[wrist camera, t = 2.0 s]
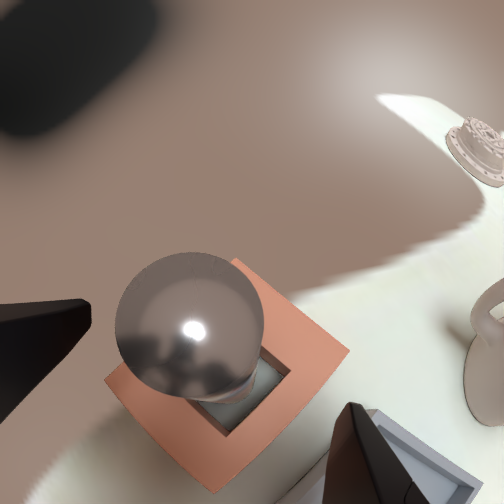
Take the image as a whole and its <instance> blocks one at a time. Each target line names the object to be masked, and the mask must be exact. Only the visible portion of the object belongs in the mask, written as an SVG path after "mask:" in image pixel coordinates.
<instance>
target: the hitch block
mask: <svg viewBox="0 0 504 504" xmlns="http://www.w3.org/2000/svg"><path fill="white" fill-rule="evenodd" d="M230 263H231V264H233V265H234V266H236V267H237V268H238V269H240V270H241V271H242V272H243V273H244V274H245V275H246V276H247V278H248V279H249V280H250V281H251V283H252V284H253V286H254V287H255V289H256V291H257V293H258V295H259V298H260V300H261V304H262V308H263V314H264V332H263V338H262V344H261V349H260V354H259V356H261V357H262V358H263V359H264V360H265V361H266V362H268V363H269V364H270V365H271V366H272V367H273V368H275V369H276V370H277V371H278V372H279V373H281V374H282V375H283V376H284V378H283V379H282V380H281V381H280V382H279V383H278V384H277V385H276V386H275V387H274V389H273V390H272V391H271V392H270V393H269V394H268V395H267V396H266V397H265V398H264V399H263V400H262V401H261V402H260V403H259V404H258V405H257V406H256V407H255V408H254V409H253V410H252V411H251V412H250V413H249V414H248V415H247V416H246V417H245V418H244V419H243V420H242V421H241V422H240V423H239V424H238V425H237V426H236V427H235V428H234V429H233V430H232V431H231V432H229V431H228V430H227V429H226V428H224V427H223V426H222V425H221V424H220V423H219V422H218V421H217V420H216V419H214V418H213V417H212V416H211V415H210V414H209V413H208V412H207V411H206V410H205V409H204V408H203V407H202V406H201V405H200V404H198V403H197V402H196V401H195V400H193V399H186V398H180V397H174V396H170V395H166V394H163V393H160V392H158V391H156V390H154V389H152V388H150V387H148V386H147V385H145V384H144V383H143V382H141V381H140V380H139V379H138V378H137V377H136V376H135V375H134V374H133V373H132V372H131V371H130V369H129V368H128V367H127V365H126V364H125V362H123V363H122V364H120V365H119V366H118V367H117V368H116V369H115V370H114V371H113V372H112V373H111V374H110V375H109V376H108V377H107V378H106V379H104V381H105V382H106V384H107V385H108V386H109V387H110V389H111V390H112V391H113V393H114V394H115V395H116V396H117V398H118V399H119V400H120V401H121V403H122V404H123V405H124V406H125V408H126V409H127V410H128V411H129V412H130V413H131V415H132V416H133V417H134V418H135V419H136V420H137V421H138V423H139V424H140V425H141V426H142V427H143V428H144V429H145V430H146V431H147V433H148V434H149V435H150V436H151V437H152V438H153V439H154V440H155V441H156V442H157V443H158V444H159V445H160V446H161V447H162V448H163V449H164V450H165V451H166V452H167V453H168V454H169V455H170V456H171V457H172V458H173V459H174V460H175V461H176V462H177V463H178V464H179V465H181V466H182V467H183V468H184V469H185V470H186V471H187V472H188V473H189V474H190V475H192V476H193V477H194V478H195V479H196V480H197V481H199V482H200V483H201V484H202V485H203V486H205V487H206V488H207V489H208V490H209V491H211V492H212V493H213V494H215V493H216V492H217V491H218V490H220V489H221V488H222V487H223V486H224V485H226V484H227V483H228V482H229V481H230V480H231V479H233V478H234V477H235V476H236V475H237V474H238V473H239V472H240V471H242V470H243V469H244V468H245V467H246V466H247V465H248V464H249V463H250V462H251V461H252V460H254V459H255V458H256V457H257V456H258V455H259V454H260V453H261V452H262V451H263V450H264V449H265V448H266V447H267V446H268V445H269V444H270V443H271V442H272V441H273V440H274V439H275V438H276V437H277V436H278V435H279V434H280V433H281V432H282V431H283V430H284V429H285V428H286V427H287V425H288V424H289V423H290V422H291V421H292V420H293V419H294V418H295V417H296V416H297V415H298V414H299V412H300V411H301V410H302V409H303V408H304V407H305V406H306V405H307V403H308V402H309V401H310V400H311V399H312V398H313V396H314V395H315V394H316V393H317V392H318V391H319V389H320V388H321V387H322V386H323V385H324V383H325V382H326V381H327V380H328V378H329V377H330V376H331V375H332V373H333V372H334V371H335V370H336V368H337V367H338V366H339V365H340V363H341V362H342V361H343V359H344V358H345V357H346V355H347V354H348V353H349V351H350V350H349V349H347V348H346V347H345V346H344V345H342V344H341V343H340V342H339V341H337V340H336V339H335V338H334V337H332V336H331V335H330V334H329V333H328V332H326V331H325V330H324V329H323V328H321V327H320V326H319V325H318V324H316V323H315V322H314V321H313V320H311V319H310V318H309V317H308V316H306V315H305V314H304V313H303V312H302V311H300V310H299V309H298V308H297V307H295V306H294V305H293V304H292V303H290V302H289V301H288V300H287V299H286V298H284V297H283V296H282V295H281V294H279V293H278V292H277V291H275V290H274V289H273V288H272V287H271V286H270V285H268V284H267V283H266V282H265V281H264V280H262V279H261V278H260V277H259V276H258V275H256V274H255V273H254V272H253V271H251V270H250V269H249V268H248V267H247V266H245V265H244V264H243V263H242V262H241V261H239V260H238V259H237V258H235V259H234V260H232V261H231V262H230Z"/></svg>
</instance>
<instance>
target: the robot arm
mask: <svg viewBox="0 0 504 504" xmlns="http://www.w3.org/2000/svg"><path fill="white" fill-rule="evenodd" d="M91 323H92V318H91V305H90V303H89V302H87V301H85V300H84V299H68V300H56V301H43V302H30V303H15V304H0V424H1V423H2V422H3V421H4V420H5V419H6V417H8V415H9V414H10V413H11V412H12V411H13V410H14V409H15V408H16V407H17V406H18V405H19V403H20V402H22V401H23V399H24V398H25V397H26V396H27V395H28V394H29V393H30V392H31V391H32V390H33V389H34V388H35V387H36V386H37V385H38V384H39V383H40V382H41V381H42V380H43V379H44V378H45V377H46V376H47V375H48V374H49V373H50V372H51V371H52V370H53V369H54V368H55V367H56V366H57V365H58V364H59V363H60V362H61V361H62V360H63V359H64V358H65V357H66V356H67V355H68V354H69V352H70V351H71V350H72V349H73V348H74V346H75V345H76V344H77V343H78V341H79V340H80V339H81V338H82V337H83V336H84V334H85V333H86V332H87V331H88V330H89V328H90V327H91ZM322 504H430V502H429V501H428V500H427V499H426V497H425V496H424V494H423V493H422V492H421V490H420V489H419V487H418V486H417V485H416V483H415V482H414V481H413V479H412V477H411V476H410V474H409V473H408V472H407V470H406V469H405V467H404V466H403V464H402V463H401V461H400V460H399V458H398V457H397V456H396V454H395V453H394V451H393V450H392V448H391V447H390V445H389V444H388V442H387V441H386V440H385V438H384V437H383V435H382V434H381V432H380V431H379V429H378V428H377V427H376V425H375V424H374V422H373V421H372V419H371V418H370V416H369V415H368V413H367V412H366V411H365V409H364V408H363V406H362V405H361V404H358V403H354V402H348V403H347V404H346V406H345V407H344V409H343V410H342V412H341V413H340V415H339V417H338V418H337V420H336V422H335V426H334V431H333V436H332V441H331V446H330V450H329V455H328V460H327V464H326V472H325V482H324V490H323V498H322Z"/></svg>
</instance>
